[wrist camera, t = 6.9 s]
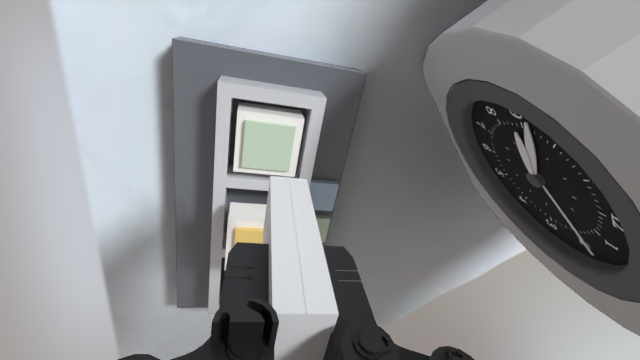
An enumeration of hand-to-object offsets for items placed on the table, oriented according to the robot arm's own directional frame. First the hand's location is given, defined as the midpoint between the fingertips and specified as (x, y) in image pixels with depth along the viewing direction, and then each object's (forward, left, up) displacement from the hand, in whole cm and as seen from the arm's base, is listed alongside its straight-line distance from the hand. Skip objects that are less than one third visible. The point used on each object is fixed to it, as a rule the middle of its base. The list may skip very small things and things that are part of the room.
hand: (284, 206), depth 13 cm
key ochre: (+5, +4, -7) cm, 9 cm away
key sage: (+1, 0, -9) cm, 9 cm away
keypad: (+5, +4, -12) cm, 13 cm away
